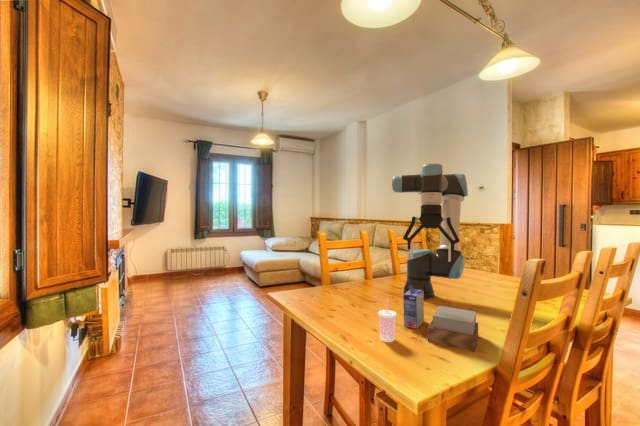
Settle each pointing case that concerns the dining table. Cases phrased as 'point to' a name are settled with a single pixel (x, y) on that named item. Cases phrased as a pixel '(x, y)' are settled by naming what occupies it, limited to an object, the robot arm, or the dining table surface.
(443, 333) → the walnut base slab
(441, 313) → the grey top slab
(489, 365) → the dining table surface
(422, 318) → the ink cartridge box
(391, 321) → the beverage cup
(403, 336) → the dining table surface
